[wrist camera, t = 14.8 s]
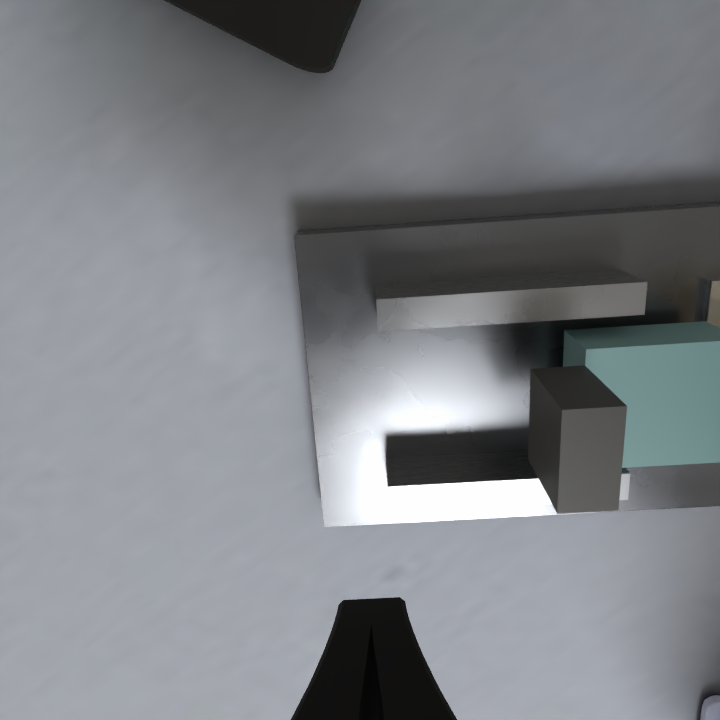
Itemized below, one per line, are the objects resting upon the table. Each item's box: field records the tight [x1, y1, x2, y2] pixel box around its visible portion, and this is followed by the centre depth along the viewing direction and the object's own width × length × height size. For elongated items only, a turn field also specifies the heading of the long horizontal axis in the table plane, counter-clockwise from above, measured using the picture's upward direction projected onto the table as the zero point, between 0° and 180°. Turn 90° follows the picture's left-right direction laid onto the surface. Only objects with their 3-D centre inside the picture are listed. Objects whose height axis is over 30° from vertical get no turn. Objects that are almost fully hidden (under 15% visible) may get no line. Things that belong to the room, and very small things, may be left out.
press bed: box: [294, 202, 720, 527], centre depth 20 cm, size 20×11×3 cm, turn 94°
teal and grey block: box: [528, 321, 720, 514], centre depth 18 cm, size 6×4×5 cm, turn 94°
